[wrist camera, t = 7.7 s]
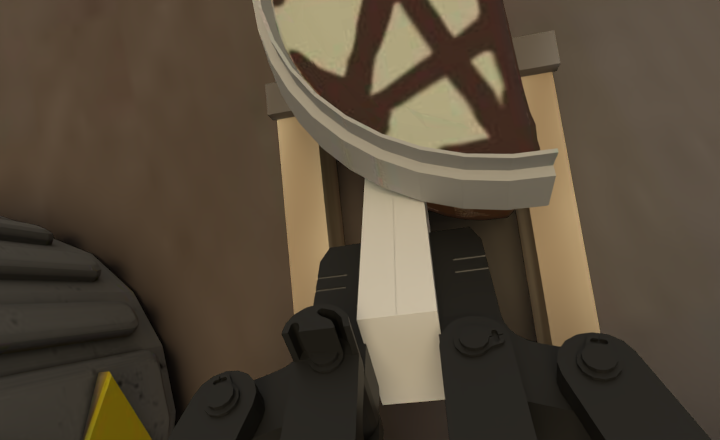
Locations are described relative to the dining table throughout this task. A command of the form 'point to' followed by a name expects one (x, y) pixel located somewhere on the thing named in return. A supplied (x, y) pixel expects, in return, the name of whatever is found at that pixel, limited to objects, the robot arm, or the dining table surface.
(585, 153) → the dining table surface
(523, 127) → the food container
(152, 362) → the decorative lamp
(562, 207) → the birch chute
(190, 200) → the dining table surface
